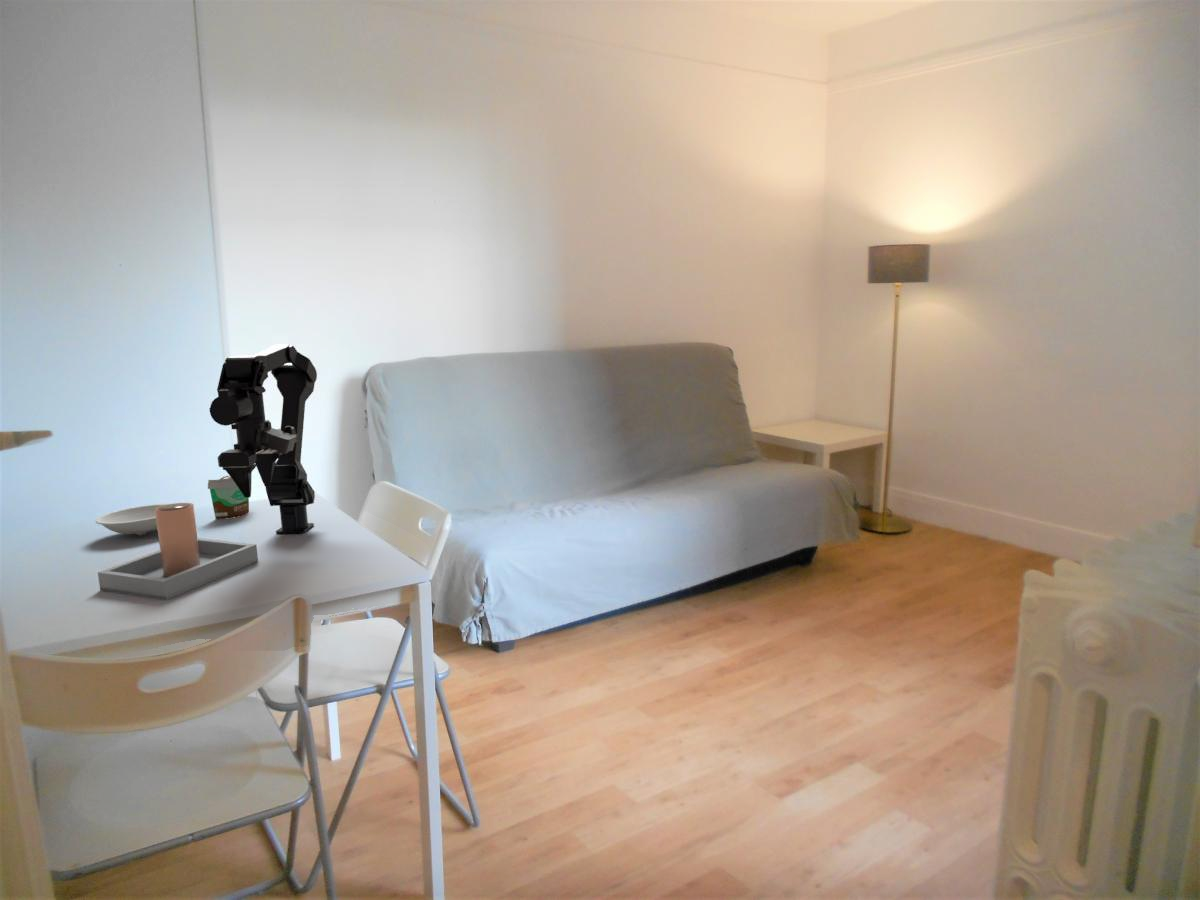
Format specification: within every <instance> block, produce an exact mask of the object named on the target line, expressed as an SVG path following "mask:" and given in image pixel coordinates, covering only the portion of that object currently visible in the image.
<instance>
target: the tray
mask: <svg viewBox="0 0 1200 900" xmlns="http://www.w3.org/2000/svg"><path fill="white" fill-rule="evenodd" d="M197 538H198V547H199V555H200V563H201V564H200V565H197V566H195V567H192V568H190V569H187V570H185V571H182V572H180V573H177V574H175V575H172V576H170V577H165V576H164V575H163V567H162V560H161V552H160V549H159V550H156V551H154V552H151V553H148V554H145V555H142V556H140V557H137V558H134V559H132V560H129V561H125V562H123V563H121V564H118V565H114V566H112V567H109V568H106V569H103V570H101V571H98V572H97V576H98V577H97V578H98V584H99V590H100V591H101V592H102V591H103V592H109V593H115V594H121V595H130V596H135V597H136V596H137V597H142V598H143V597H144V598H150V599H156V600H157V599H158V600H163V601H168V600H170V599H172V598H174V597H177V596H180V595H182V594H184V593H186V592H188V591H191V590H194V589H196V588H198V587H201V586H203V585H205V584H208V583H209V582H212V581H214V580H217V579H219V578H222V577H223V576H226V575H228V574H231V573H233V572H235V571H238V570H240V569H244V568H245V567H247V566H250V565H252V564H255V563H257V562H259V557H258V547H257V544H255V543H246V542H237V541H228V540H219V539H209V538H200V537H197Z"/></svg>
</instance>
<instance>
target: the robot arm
mask: <svg viewBox="0 0 1200 900" xmlns="http://www.w3.org/2000/svg"><path fill="white" fill-rule="evenodd" d="M269 372H270V374H272V376H273V377H274V379H275V380H276V387H277V389H278V391H279V393H280V394H281V396H282V409H281V421H280V428H278V429H277V428H273V427H272V422H271V421H270V420H269V419H267V420H266V414H265V413H266V412H265V405H264V395H263V393H265V392H266V388H265V387H264V386H263V385H264V382H265V381H266V379H268V378H269ZM317 373H318V372H317V369H316V367H315V366H314V364H313V362H312V361H311V359H310V358H308V357H307V356H305V355H304V354H302V353H300V352H298V350H297V349H296V347H295V346H294V345H291V344H273V345H271V346H269V347H268V348H265V349H263V350H261V351H258V352H256V353H253V354H251V355H229V356H227V357H226V358H225V360H224V362H223V364H222V368H221V371H220V376H219V379H218V383H217V388H216V391H217V397H216V398H214V399H213V400H212V402H211V403H210V407H209V414H210V417H211V418H212V420H213V422H215V423H217V424H218V425H220V426H224V427H225V426H230V425H231V430H235V432H236V440H237V443H235V444H233V449H232V448H231V449H230V448H229V449H227V450H225V451H222V452H221V453H220V454H219V455H218V456H217V463H218V468H222V470H224V471H225V472H226V473H227V474H228V476H230V477H231V478H232V479H233V481H234V482H235V483H236V485H237V486H238V488H239V489H240V491H241V492H242V494H243V495H244V497H245V498H249V499H250V498H251V497H252V472H253V471H254V470H255V469H257V471H258V474H259V476H260V479H261V481H262V483H263V485H264V487H265V492H266V495H267V499H268V502H269V503H268V504H269V506H270V507H274V506H275V507H276V506H278V507H279V514H280V523H281V524H280V525H281V527H279V529H277V530H275V533H276V534H304V533H306V532H307V531H309V530H310V529H311V528H312V527H314V526H315V523H314V522H309V520H308V510H307V508H308V507H307V506H308V505H312V504H314V503H315V498H316V495H315V493H316V491H315V490H314V489H313V487H312V486H311V484H310V482H309V481H308V473H307V472H306V469H305V468H304V467H303V464H302V463H301V459H302V447H303V436H304V435H303V433H304V421H305V408H306V401H307V400H308V399H309V397H311V395H312V394H313V392H315V391H314V390H315V383H316V381H317V379H318V378H317V377H318V374H317Z"/></svg>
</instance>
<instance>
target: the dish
mask: <svg viewBox="0 0 1200 900" xmlns="http://www.w3.org/2000/svg"><path fill="white" fill-rule="evenodd" d="M167 504H168V503H157V504H156V503H155V504H146V505H139V506H134V507H132V506H131V507H128V508H124V509H118V510H115V511H111V512H108V513H105V514H103V515H100V516H98V517H97V518H95V523H96V524H98V525H102V526H103V527H104V528H105V529H107V530H109V531H112V532H115V533H118V534H123V535H125V534H126V535H127V534H128V535H130V534H131V535H134V534H137V535H138V536H143V535H142V534H144V535H146V534H147V532H152V531H153V530H154V531H155V530H156V529H157V530H158V528H157V521H156V513H155V509H156V508H157V507H160V506H163V505H167Z"/></svg>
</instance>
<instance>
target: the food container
mask: <svg viewBox="0 0 1200 900" xmlns="http://www.w3.org/2000/svg"><path fill="white" fill-rule="evenodd" d="M207 481H208V483H207V490H209V492H210V497H211V502H212V506H213V507H212V508H213V512H214V517H215V520H227V519H226V518H229V519H234V518H233V517H236V518H239V517H238V516H240V517H243V516H245V515H244V514H246V513H248V512H250V500H249V499H250V497H249V498H245V497H244V495H243V494H242V492H241V491H240V489H239V488H238V486H237V485H236V483H235V482H234V481H233V479H232V478H231V477H230V475H226V476H222V477H220V478H218V479H208V480H207ZM248 514H249V513H248ZM242 515H243V516H242ZM246 515H247V514H246Z"/></svg>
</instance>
